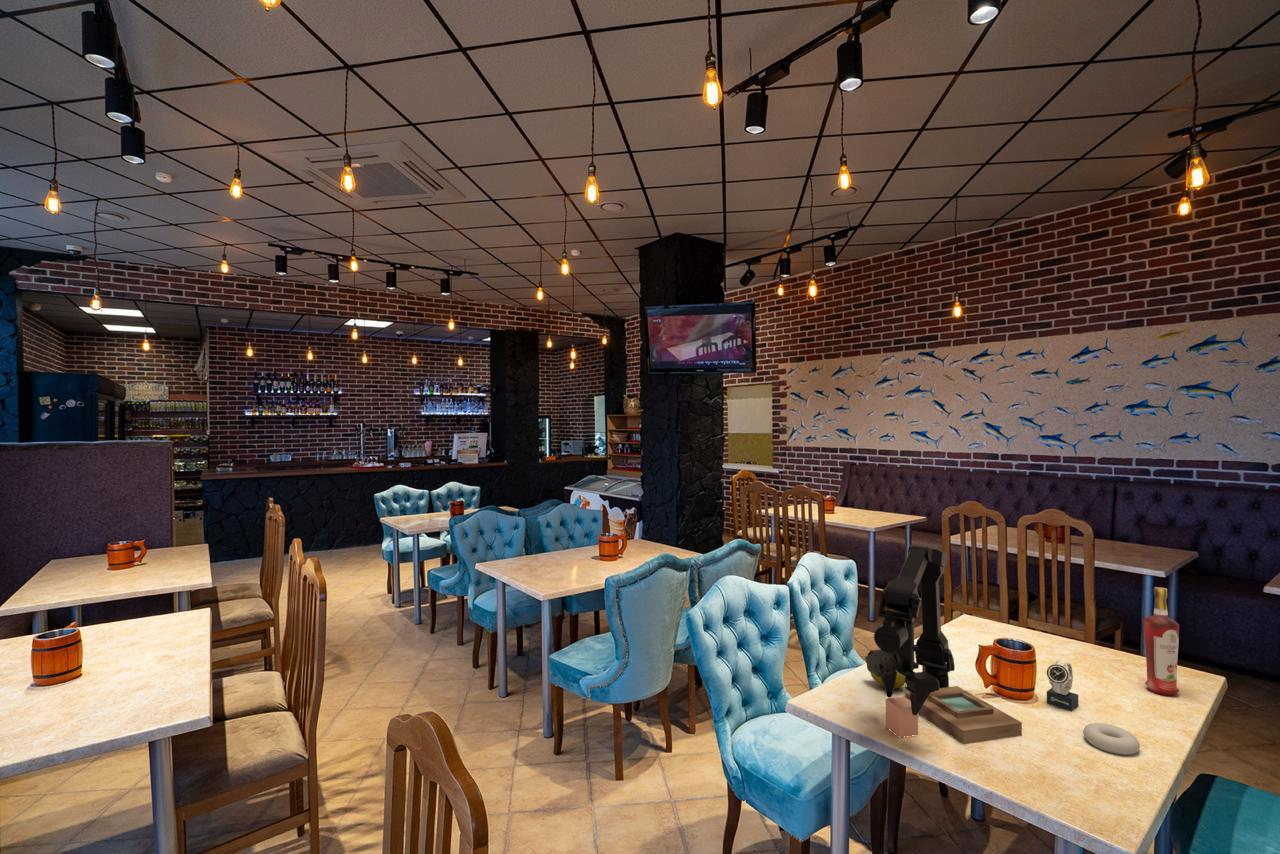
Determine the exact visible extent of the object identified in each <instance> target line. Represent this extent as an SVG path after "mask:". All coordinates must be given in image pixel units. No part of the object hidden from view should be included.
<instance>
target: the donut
mask: <svg viewBox="0 0 1280 854" xmlns="http://www.w3.org/2000/svg"><path fill="white" fill-rule="evenodd" d="M1082 733H1083V736H1084V738H1085V740H1086V741H1087V742H1088V743H1089V744H1091V745H1092V746H1094V747H1095V748H1097V749H1100V750H1102V751H1103V752H1108V753H1109V754H1110V753H1111V754H1115V755H1123V756H1130V755H1131V756H1132V755H1133V754H1136V753H1138V752H1139V751H1140V747H1141V745H1140V742H1139V740H1138V739H1137V738H1138V737H1136V735H1134V734H1133V733H1131V732H1130V731H1128V730H1127V729H1124V728H1122V727H1119V726H1117V725H1113V724H1109V723H1103V722H1095V723H1094V722H1092V723H1088V724H1086V725H1085V726H1084V728H1083V732H1082Z"/></svg>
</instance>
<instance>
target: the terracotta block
mask: <svg viewBox="0 0 1280 854" xmlns="http://www.w3.org/2000/svg"><path fill="white" fill-rule="evenodd" d="M886 727H887V728H888V729H890V730H891V731H892V732H893V733H895V734H896V735H897V736H899V737H904V736H905V737H906V736H912V735H918V736H919V713H918V714H917V715H913V714H912V710H911V701H910V700H908V699H907V698H905V695H904V696H898V697H897V696H896V697H887V698H885V728H886ZM887 728H886V729H887ZM888 729H887V730H888ZM891 731H890V732H891ZM892 732H891V733H892ZM893 733H892V734H893ZM896 735H895V736H896ZM897 736H896V737H897ZM906 738H907V737H906Z"/></svg>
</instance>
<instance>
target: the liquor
mask: <svg viewBox="0 0 1280 854" xmlns="http://www.w3.org/2000/svg"><path fill="white" fill-rule="evenodd" d="M1153 595H1154V607H1153V608H1154V609H1153V615H1150V616H1149V615H1148V616H1146V617H1145V618H1143V619H1142V621H1143V636H1144V647H1145V661H1146V662H1145V663H1146V681H1145V684H1144V685H1145V686H1147V687H1148V689H1149V690H1150V691H1152V692H1153V693H1155V694H1158V695H1162V696H1173V695H1175V694H1177V693H1178V692H1180V690H1179V688H1178V686H1177V684H1178V682H1177V681H1178V655H1179V641H1180V640H1179V639H1180V624H1179V623H1178V622H1177V621H1175V620H1174V619H1173V618H1170V617H1169V612H1168V605H1167V599H1168V589H1167V588H1165V587H1162V586H1161V587H1159V586H1158V587H1157V586H1155V587H1153Z"/></svg>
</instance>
